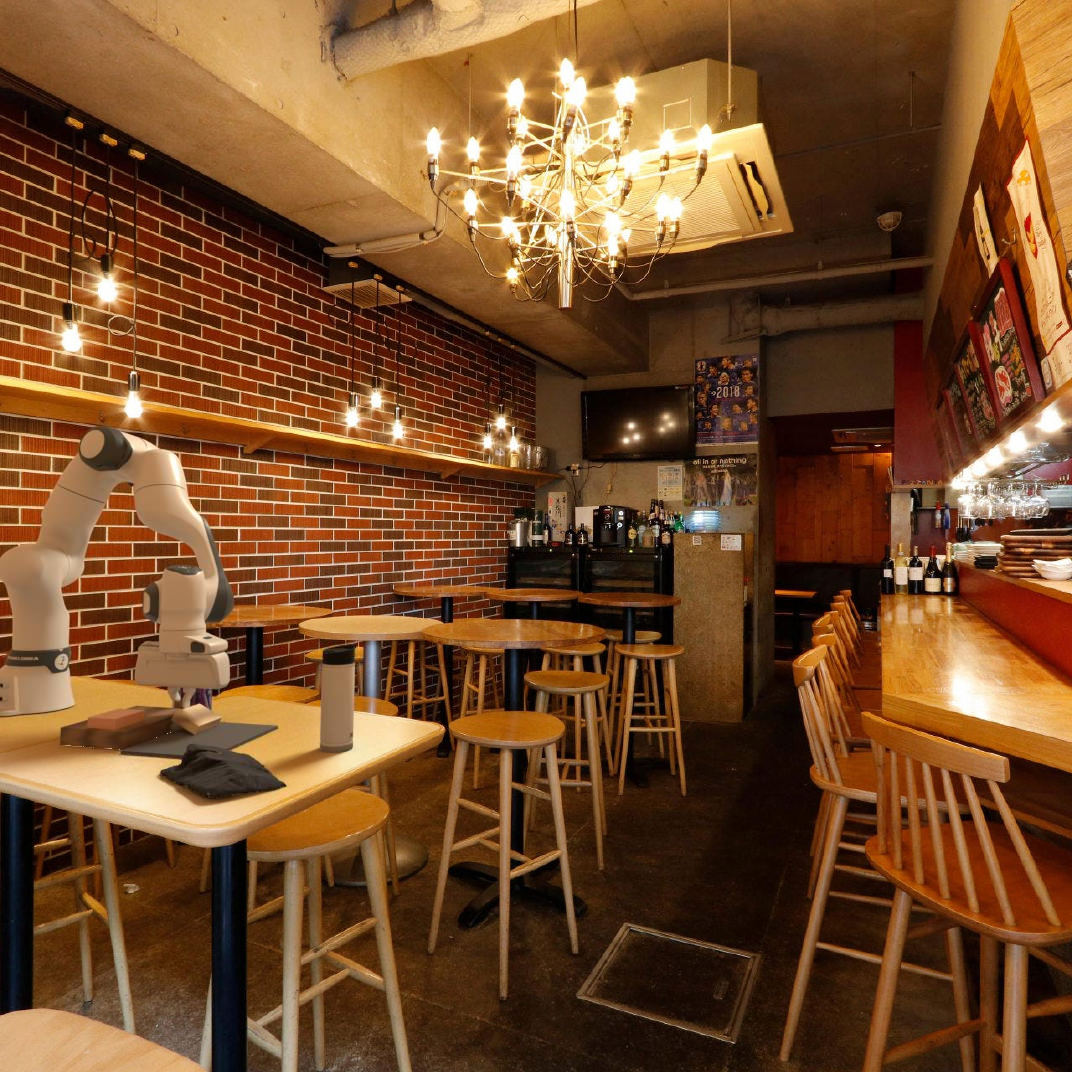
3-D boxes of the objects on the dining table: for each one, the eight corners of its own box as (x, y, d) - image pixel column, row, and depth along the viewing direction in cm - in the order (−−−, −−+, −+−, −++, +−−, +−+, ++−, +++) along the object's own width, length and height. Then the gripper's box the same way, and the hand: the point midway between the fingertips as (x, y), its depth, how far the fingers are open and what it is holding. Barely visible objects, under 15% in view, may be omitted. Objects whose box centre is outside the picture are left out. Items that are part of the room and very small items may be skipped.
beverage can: (201, 722, 156) (203, 668, 156) (170, 721, 156) (172, 667, 157) (217, 714, 163) (218, 662, 163) (186, 714, 163) (188, 662, 164)
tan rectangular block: (171, 720, 144) (175, 711, 144) (195, 711, 152) (199, 703, 152) (194, 734, 143) (198, 726, 143) (218, 725, 151) (222, 717, 151)
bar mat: (120, 753, 131) (120, 750, 131) (202, 723, 155) (202, 720, 155) (207, 760, 128) (207, 757, 128) (278, 728, 152) (278, 725, 152)
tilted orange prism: (87, 727, 136) (87, 717, 136) (118, 718, 144) (119, 708, 144) (114, 729, 135) (114, 719, 135) (144, 720, 143) (144, 710, 143)
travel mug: (360, 748, 138) (363, 646, 138) (329, 754, 133) (332, 648, 134) (344, 741, 142) (346, 642, 143) (314, 747, 138) (316, 645, 138)
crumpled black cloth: (192, 811, 105) (193, 779, 105) (156, 774, 121) (157, 746, 121) (293, 790, 115) (294, 760, 115) (247, 758, 131) (248, 733, 131)
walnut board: (60, 745, 136) (60, 727, 136) (135, 721, 156) (136, 705, 156) (123, 750, 133) (124, 732, 134) (192, 725, 153) (193, 709, 153)
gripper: (128, 642, 147) (126, 708, 147) (216, 646, 144) (214, 713, 143) (149, 638, 153) (148, 702, 153) (234, 642, 150) (233, 707, 150)
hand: (181, 708), depth 148 cm, fingers closed
